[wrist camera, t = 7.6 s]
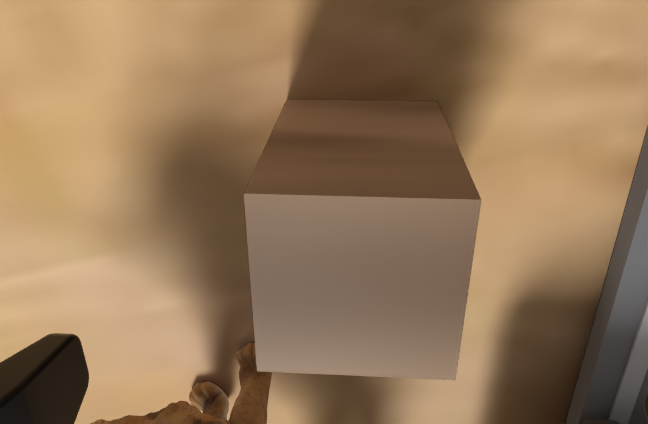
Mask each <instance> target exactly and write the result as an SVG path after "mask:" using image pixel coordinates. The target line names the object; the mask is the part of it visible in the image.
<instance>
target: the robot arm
mask: <svg viewBox="0 0 648 424" xmlns="http://www.w3.org/2000/svg"><path fill="white" fill-rule="evenodd" d="M88 383H89V372H88V368H87V364H86V360H85V356H84V352H83V348H82V345H81V341H80V339H79V338H78V336H76V335H74V334H60V333H54V334H49V335H47V336H45V337H43V338H42V339H40V340H38V341H37V342H35V343H33V344H31V345H30V346H28V347H26V348H25V349H23V350H21V351H19V352H18V353H16V354H14V355H13V356H11V357H9V358H7V359H6V360H4V361H2V362H1V363H0V424H74V422H75V420H76V417H77V414H78V412H79V409H80V406H81V404H82V401H83V398H84V396H85V393H86V390H87V387H88ZM644 407H645V414H646V418H647V421H648V392H647V395H646V398H645V404H644Z"/></svg>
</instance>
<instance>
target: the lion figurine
mask: <svg viewBox="0 0 648 424" xmlns="http://www.w3.org/2000/svg"><path fill="white" fill-rule="evenodd" d="M237 360H238V362H239V364H240V371H239V378H240V385H241V391H240V394H239V396H238V397H237V399H236V401H235V404H234V406H233V408H232V411H231V415H230V419H229V421H228V420H227V413H228V410H229V401H228V397H227V395H226V394H225V393H224V392H223V391H222V389H221V388H220V387H218V386H217V385H215V384H213V383H211V382H209V381H207V382H201V383H196V384H195V385H194V386H193V389H192V391H191V392H190V394H189V399H190V402H191V405H192V406H191V405H190V404H189V403H188V402H186V401H178V402H177V403H171V404H169V405H168V406H167V407H166V408H163V409H161V410H160V411H158V412H155V413H149V414H147V415H145V416H132V415H128V416H125V417H122V418H120V419H116V420H112V421H105V420H103V419H100V420H97V421H95V422H93V423H91V424H266V423H267V404H268V396H269V388H270V382H271V376H272V372H261V371H257V365H256V351H255V343H248V344H246V345H245V346H244V347H242V348H241V349H240V350H239V351H238V352H237ZM199 410H202V411H203V414H202V413H201V412H200V411H199Z"/></svg>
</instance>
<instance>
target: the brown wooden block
mask: <svg viewBox="0 0 648 424" xmlns="http://www.w3.org/2000/svg"><path fill="white" fill-rule="evenodd" d="M244 205H245V218H246V232H247V245H248V258H249V272H250V285H251V298H252V311H253V325H254V338H255V351H256V365H257V371H261V372H283V373H306V374H328V375H351V376H373V377H396V378H418V379H441V380H455V379H456V373H457V366H458V359H459V352H460V345H461V338H462V331H463V324H464V317H465V310H466V303H467V296H468V289H469V282H470V275H471V268H472V261H473V254H474V247H475V240H476V233H477V226H478V219H479V212H480V205H481V198H480V196H479V194H478V191H477V189H476V187H475V185H474V182H473V180H472V178H471V176H470V173H469V171H468V169H467V166H466V164H465V162H464V160H463V157H462V155H461V153H460V151H459V148H458V146H457V144H456V142H455V139H454V137H453V135H452V133H451V130H450V128H449V126H448V124H447V121H446V119H445V117H444V115H443V112H442V110H441V108H440V106H439V103H438V101H379V100H315V99H287V100H286V102H285V104H284V106H283V109H282V111H281V113H280V115H279V117H278V120H277V122H276V124H275V126H274V128H273V131H272V133H271V135H270V137H269V139H268V141H267V144H266V146H265V148H264V150H263V152H262V155H261V157H260V159H259V161H258V163H257V166H256V168H255V170H254V172H253V174H252V176H251V179H250V181H249V183H248V185H247V187H246V190H245V192H244Z"/></svg>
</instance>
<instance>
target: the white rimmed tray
mask: <svg viewBox="0 0 648 424" xmlns="http://www.w3.org/2000/svg"><path fill="white" fill-rule="evenodd" d="M581 424H620V423H619V422H618V421H615V420H598V419H585V420H584V421H583V422H582V423H581Z"/></svg>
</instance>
